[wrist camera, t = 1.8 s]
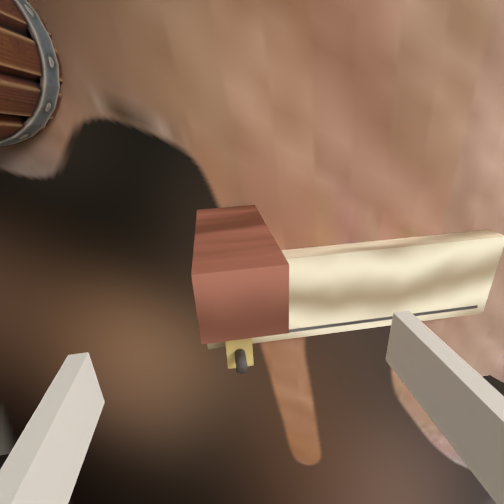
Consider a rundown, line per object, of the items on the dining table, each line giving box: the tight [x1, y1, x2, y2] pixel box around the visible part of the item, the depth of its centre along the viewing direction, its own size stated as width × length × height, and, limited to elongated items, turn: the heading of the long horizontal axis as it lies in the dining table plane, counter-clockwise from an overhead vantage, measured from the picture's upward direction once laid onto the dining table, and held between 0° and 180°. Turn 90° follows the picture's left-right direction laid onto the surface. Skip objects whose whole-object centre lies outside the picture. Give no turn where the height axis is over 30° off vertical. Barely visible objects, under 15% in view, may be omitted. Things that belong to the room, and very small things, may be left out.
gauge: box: [191, 205, 289, 374], centre depth 24 cm, size 14×5×12 cm, turn 3°
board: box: [207, 230, 504, 349], centre depth 31 cm, size 9×30×2 cm, turn 93°
